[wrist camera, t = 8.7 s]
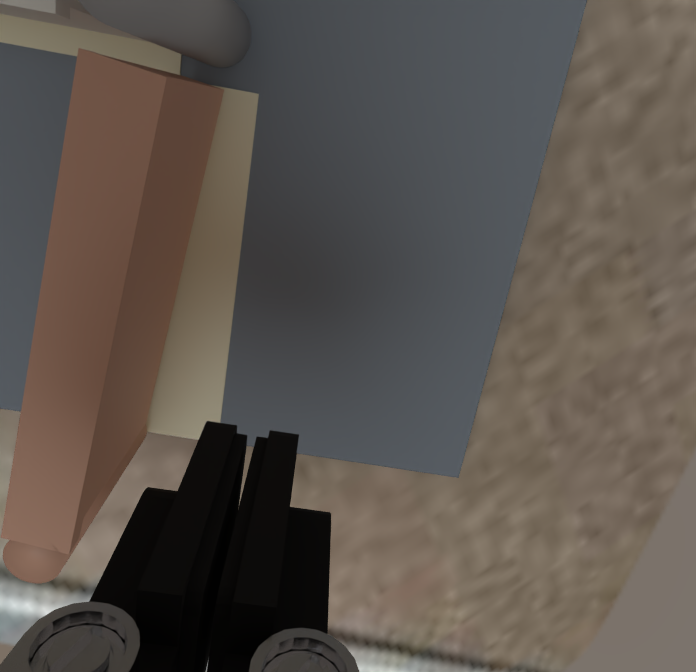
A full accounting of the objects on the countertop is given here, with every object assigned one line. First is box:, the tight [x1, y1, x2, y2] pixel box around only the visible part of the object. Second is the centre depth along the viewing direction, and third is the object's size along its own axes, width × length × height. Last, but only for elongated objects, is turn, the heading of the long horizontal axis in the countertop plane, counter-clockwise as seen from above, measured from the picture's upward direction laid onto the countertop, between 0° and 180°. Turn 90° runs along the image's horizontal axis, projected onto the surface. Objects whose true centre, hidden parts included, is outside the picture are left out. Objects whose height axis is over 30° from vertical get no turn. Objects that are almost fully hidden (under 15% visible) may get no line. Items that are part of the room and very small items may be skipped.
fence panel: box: [1, 48, 224, 583], centre depth 16 cm, size 12×2×7 cm, turn 162°
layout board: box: [0, 0, 587, 478], centre depth 14 cm, size 22×20×8 cm
